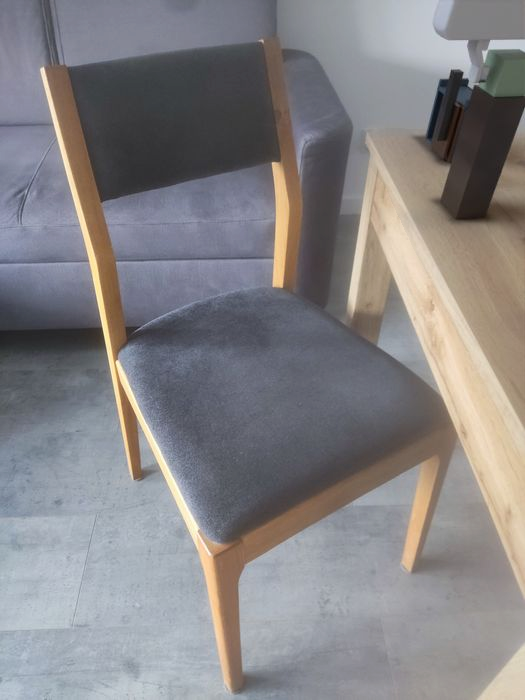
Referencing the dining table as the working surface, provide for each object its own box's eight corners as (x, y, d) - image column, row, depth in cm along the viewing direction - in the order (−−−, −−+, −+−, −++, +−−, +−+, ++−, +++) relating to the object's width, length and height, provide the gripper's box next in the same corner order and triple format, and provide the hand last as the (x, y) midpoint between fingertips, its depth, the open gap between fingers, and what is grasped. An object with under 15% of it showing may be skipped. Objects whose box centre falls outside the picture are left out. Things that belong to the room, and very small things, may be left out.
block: (507, 85, 65) (519, 48, 62) (524, 96, 62) (538, 58, 59) (477, 86, 64) (488, 49, 61) (493, 97, 61) (505, 59, 58)
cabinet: (450, 139, 93) (468, 78, 86) (477, 163, 86) (498, 99, 79) (417, 140, 92) (432, 78, 85) (442, 165, 85) (460, 100, 78)
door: (432, 146, 88) (454, 63, 79) (445, 159, 85) (469, 73, 76) (422, 147, 88) (442, 63, 79) (434, 160, 84) (457, 74, 76)
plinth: (467, 202, 76) (506, 83, 65) (484, 220, 73) (528, 97, 62) (439, 204, 75) (473, 84, 64) (454, 222, 72) (494, 98, 61)
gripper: (471, -67, 49) (433, 92, 58) (662, -63, 52) (596, 87, 62) (442, -75, 53) (411, 74, 63) (620, -70, 56) (564, 70, 66)
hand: (504, 80), depth 62 cm, fingers open, 6 cm apart
